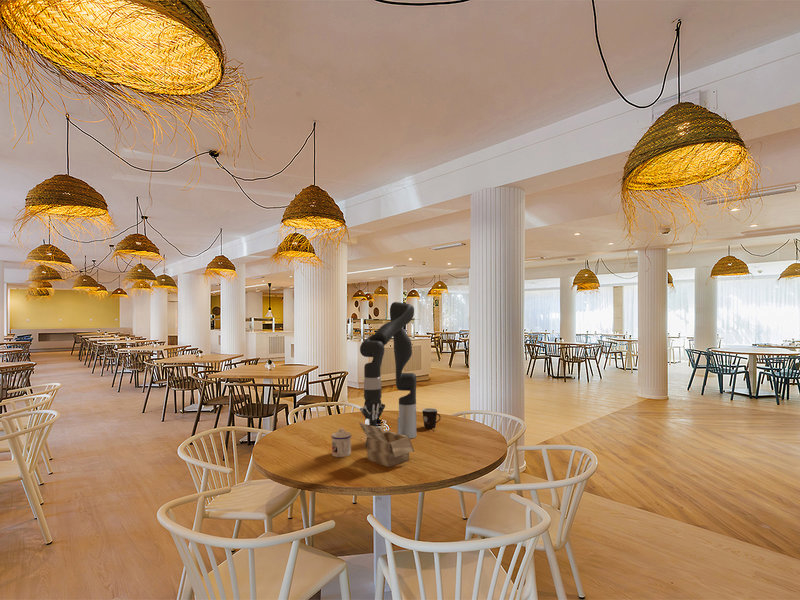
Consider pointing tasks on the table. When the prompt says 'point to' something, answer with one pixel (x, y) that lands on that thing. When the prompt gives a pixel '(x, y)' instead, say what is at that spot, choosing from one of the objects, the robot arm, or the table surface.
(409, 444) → the carton
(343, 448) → the teacup with lid
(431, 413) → the coffee mug
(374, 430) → the front flap
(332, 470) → the table surface
